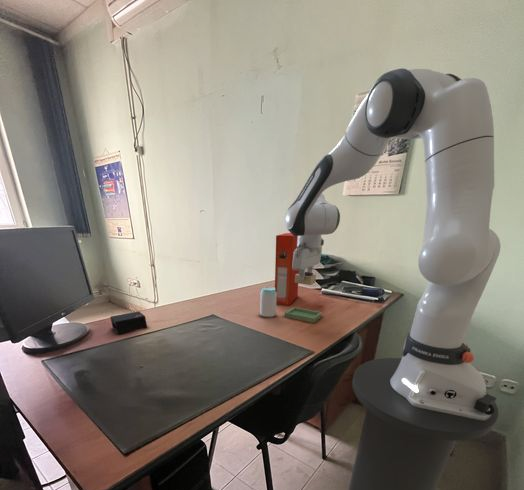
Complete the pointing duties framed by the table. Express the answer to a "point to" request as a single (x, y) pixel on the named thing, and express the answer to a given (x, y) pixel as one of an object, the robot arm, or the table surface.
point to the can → (268, 302)
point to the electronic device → (128, 322)
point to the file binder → (285, 269)
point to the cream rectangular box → (306, 278)
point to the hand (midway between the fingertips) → (305, 278)
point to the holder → (303, 314)
